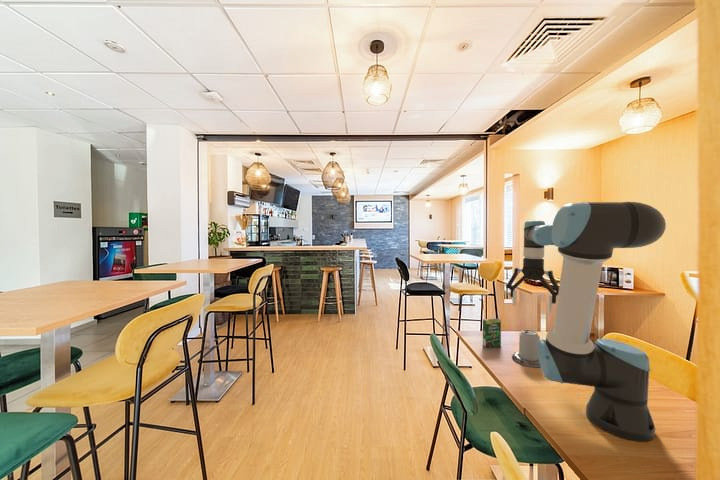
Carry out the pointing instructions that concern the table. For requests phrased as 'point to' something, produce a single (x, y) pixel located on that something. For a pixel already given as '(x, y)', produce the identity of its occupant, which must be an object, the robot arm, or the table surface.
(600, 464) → the table surface
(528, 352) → the can
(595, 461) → the table surface
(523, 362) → the flange socket
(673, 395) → the table surface
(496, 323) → the coffee box
